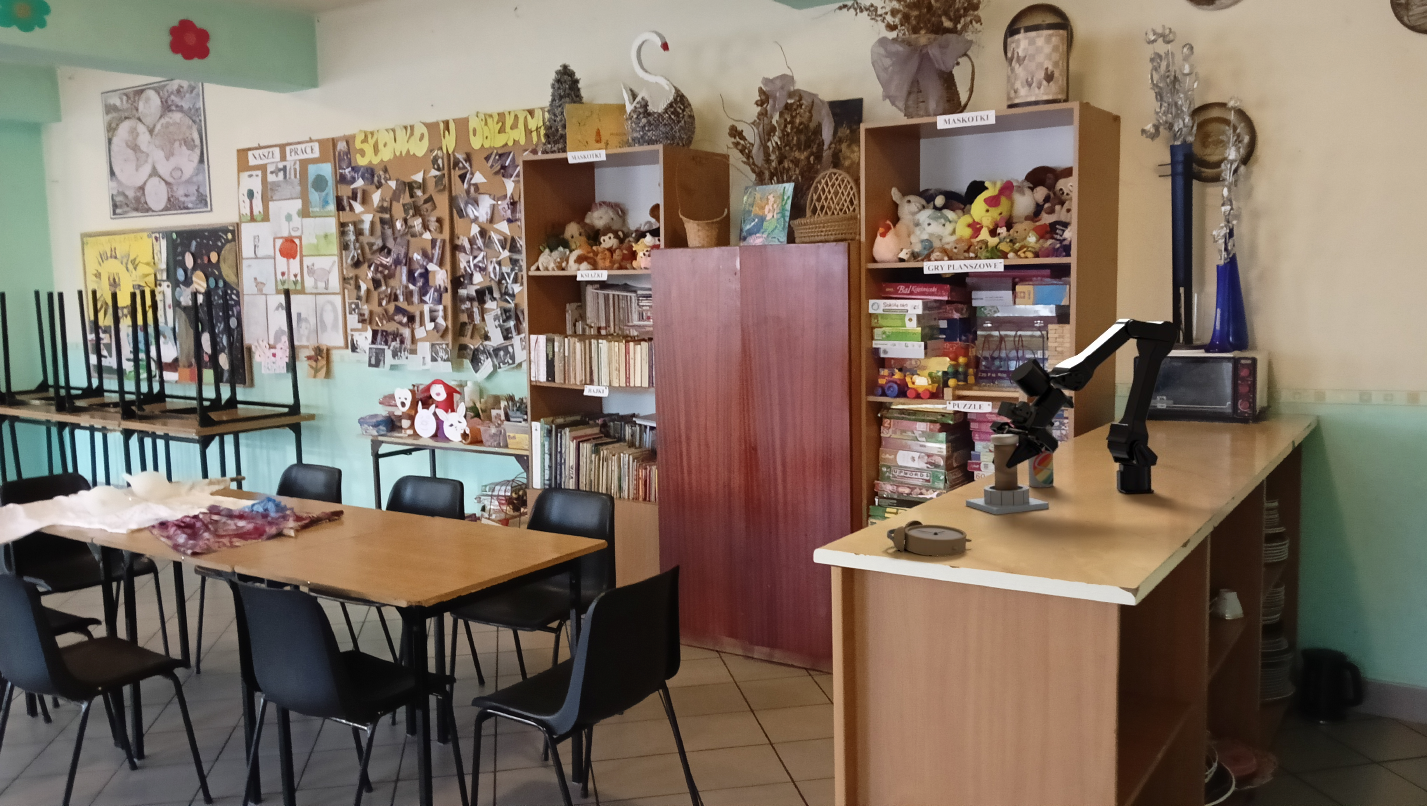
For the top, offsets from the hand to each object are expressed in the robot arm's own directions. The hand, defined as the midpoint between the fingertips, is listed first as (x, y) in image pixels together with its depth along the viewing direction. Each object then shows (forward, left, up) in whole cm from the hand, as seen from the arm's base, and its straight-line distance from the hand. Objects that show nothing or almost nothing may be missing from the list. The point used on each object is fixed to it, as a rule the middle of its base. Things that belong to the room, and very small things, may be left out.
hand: (1000, 465), depth 232 cm
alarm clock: (+22, +35, -10) cm, 42 cm away
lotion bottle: (-15, -24, -9) cm, 30 cm away
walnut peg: (-1, 0, -7) cm, 7 cm away
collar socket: (-1, 0, -9) cm, 9 cm away
